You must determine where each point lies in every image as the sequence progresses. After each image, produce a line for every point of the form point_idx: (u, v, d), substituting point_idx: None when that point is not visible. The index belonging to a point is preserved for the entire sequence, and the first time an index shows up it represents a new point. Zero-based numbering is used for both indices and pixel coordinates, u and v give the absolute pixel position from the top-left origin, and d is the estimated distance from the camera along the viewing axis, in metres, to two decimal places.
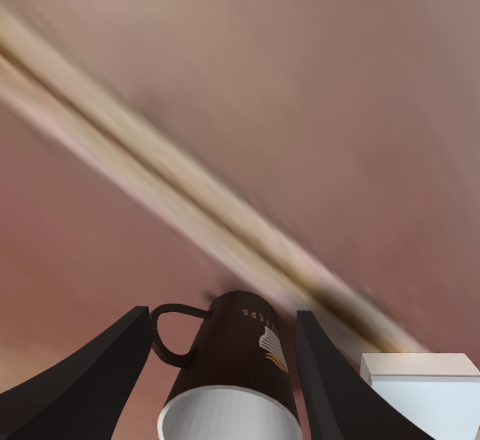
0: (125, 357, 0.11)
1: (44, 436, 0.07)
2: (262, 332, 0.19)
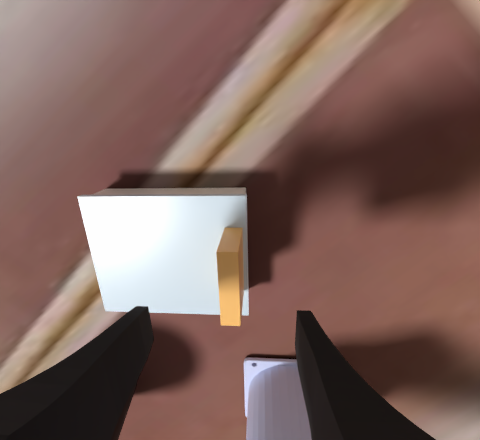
0: (125, 357, 0.11)
1: (44, 436, 0.07)
2: None
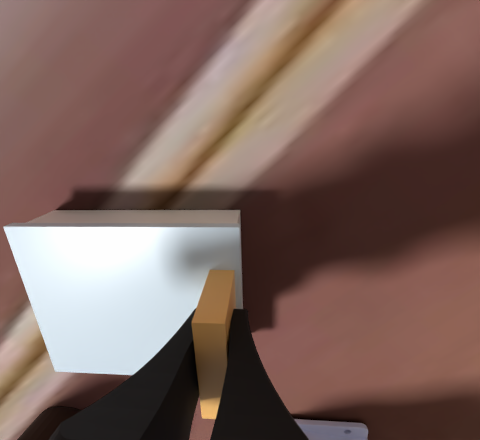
0: None
1: None
2: None
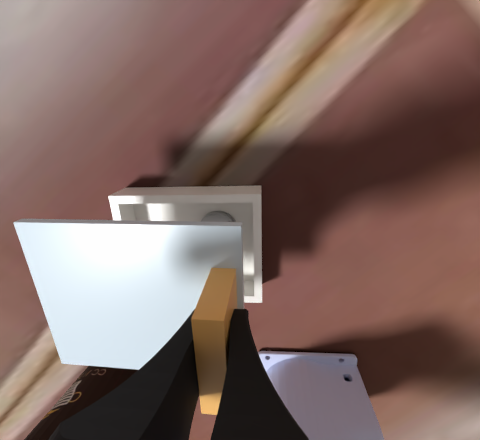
0: (195, 360, 0.11)
1: None
2: (61, 398, 0.24)
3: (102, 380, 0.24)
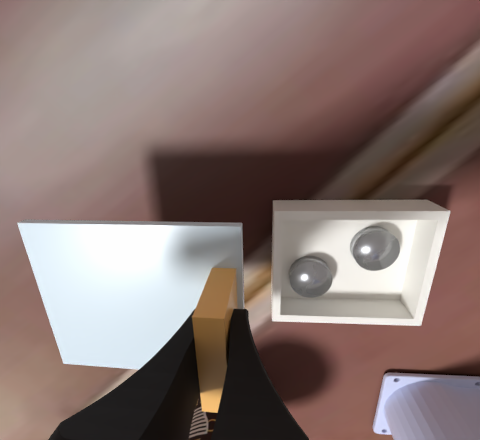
0: (195, 360, 0.11)
1: None
2: None
3: None
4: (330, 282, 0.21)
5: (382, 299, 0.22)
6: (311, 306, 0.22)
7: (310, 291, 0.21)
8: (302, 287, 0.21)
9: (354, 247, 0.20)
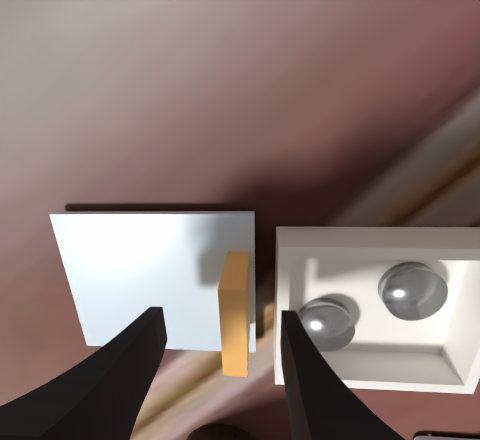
0: (141, 358, 0.11)
1: (70, 438, 0.07)
2: None
3: None
4: (352, 331, 0.16)
5: (417, 352, 0.17)
6: None
7: (328, 344, 0.16)
8: (317, 340, 0.16)
9: (386, 290, 0.15)
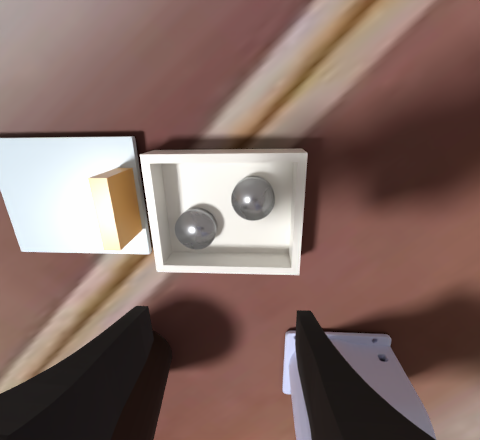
0: (125, 357, 0.11)
1: (44, 436, 0.07)
2: None
3: None
4: (213, 226, 0.21)
5: (271, 253, 0.22)
6: (199, 258, 0.22)
7: (200, 242, 0.21)
8: (191, 240, 0.21)
9: None
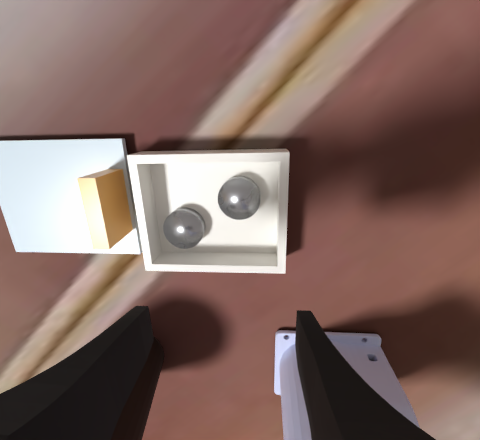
0: (125, 357, 0.11)
1: (44, 436, 0.07)
2: None
3: None
4: (199, 223, 0.21)
5: (259, 252, 0.23)
6: (187, 257, 0.22)
7: (190, 240, 0.22)
8: (181, 240, 0.22)
9: (218, 194, 0.20)
